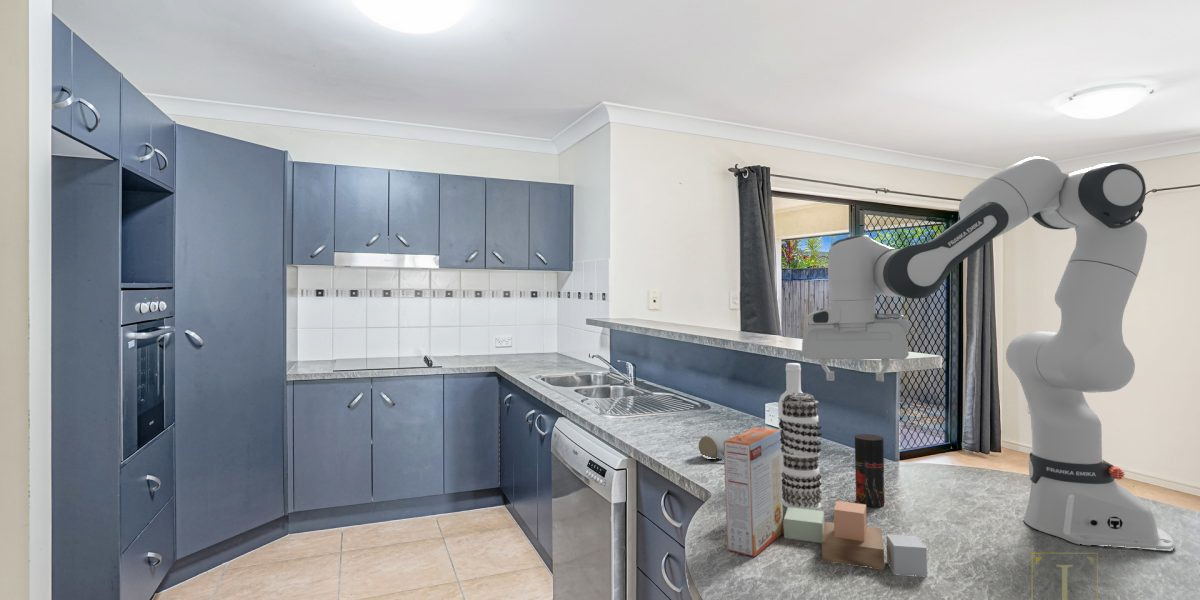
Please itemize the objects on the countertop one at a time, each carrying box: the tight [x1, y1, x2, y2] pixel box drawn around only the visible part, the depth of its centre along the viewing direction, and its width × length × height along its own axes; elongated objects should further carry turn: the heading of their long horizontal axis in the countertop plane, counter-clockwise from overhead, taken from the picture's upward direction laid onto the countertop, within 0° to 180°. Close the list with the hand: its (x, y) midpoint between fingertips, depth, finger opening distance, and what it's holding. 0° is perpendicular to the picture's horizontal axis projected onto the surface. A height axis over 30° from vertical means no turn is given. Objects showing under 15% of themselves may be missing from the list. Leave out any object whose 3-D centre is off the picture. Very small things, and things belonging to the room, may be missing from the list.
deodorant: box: [854, 433, 885, 509], centre depth 135 cm, size 6×6×15 cm
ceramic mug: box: [698, 429, 733, 460], centre depth 174 cm, size 11×8×8 cm
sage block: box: [783, 507, 825, 544], centre depth 119 cm, size 7×7×4 cm
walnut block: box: [821, 521, 885, 570], centre depth 109 cm, size 10×10×4 cm
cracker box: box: [723, 426, 784, 558], centre depth 115 cm, size 14×6×21 cm, turn 141°
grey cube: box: [886, 533, 928, 578], centre depth 103 cm, size 5×5×5 cm
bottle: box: [777, 362, 804, 479], centre depth 153 cm, size 8×8×30 cm
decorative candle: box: [778, 392, 823, 510], centre depth 135 cm, size 9×9×25 cm
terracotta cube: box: [833, 500, 868, 541], centre depth 109 cm, size 5×5×5 cm
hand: (854, 380), depth 123 cm, fingers open, 8 cm apart
